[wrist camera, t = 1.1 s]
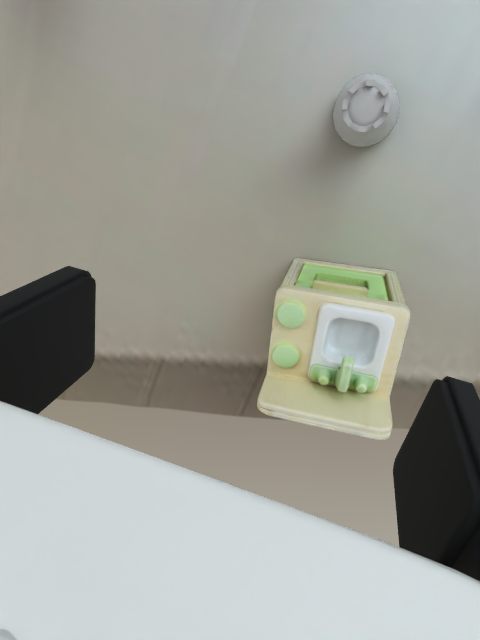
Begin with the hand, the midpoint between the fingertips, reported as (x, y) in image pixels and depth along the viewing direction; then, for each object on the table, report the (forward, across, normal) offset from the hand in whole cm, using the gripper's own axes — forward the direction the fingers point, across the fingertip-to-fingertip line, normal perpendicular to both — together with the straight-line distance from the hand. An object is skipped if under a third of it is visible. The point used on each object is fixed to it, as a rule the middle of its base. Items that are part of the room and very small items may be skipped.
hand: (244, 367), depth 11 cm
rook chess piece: (+25, -1, -7) cm, 26 cm away
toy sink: (+25, -3, +7) cm, 26 cm away
